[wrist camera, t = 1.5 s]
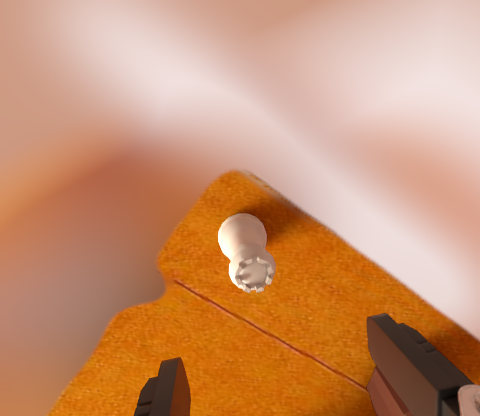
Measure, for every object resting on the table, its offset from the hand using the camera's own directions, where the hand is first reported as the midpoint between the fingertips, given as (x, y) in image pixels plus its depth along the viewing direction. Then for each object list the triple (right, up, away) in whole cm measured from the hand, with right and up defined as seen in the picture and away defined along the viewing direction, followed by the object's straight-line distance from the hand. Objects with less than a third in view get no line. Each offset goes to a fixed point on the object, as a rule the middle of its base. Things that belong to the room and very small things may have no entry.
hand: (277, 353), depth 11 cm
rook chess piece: (-1, +4, +14) cm, 15 cm away
